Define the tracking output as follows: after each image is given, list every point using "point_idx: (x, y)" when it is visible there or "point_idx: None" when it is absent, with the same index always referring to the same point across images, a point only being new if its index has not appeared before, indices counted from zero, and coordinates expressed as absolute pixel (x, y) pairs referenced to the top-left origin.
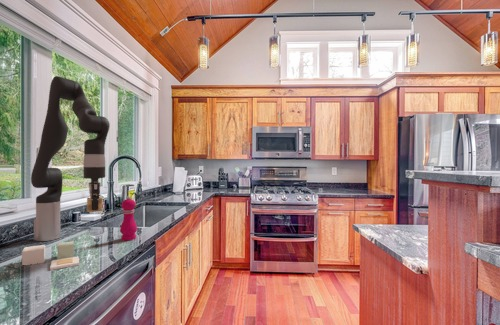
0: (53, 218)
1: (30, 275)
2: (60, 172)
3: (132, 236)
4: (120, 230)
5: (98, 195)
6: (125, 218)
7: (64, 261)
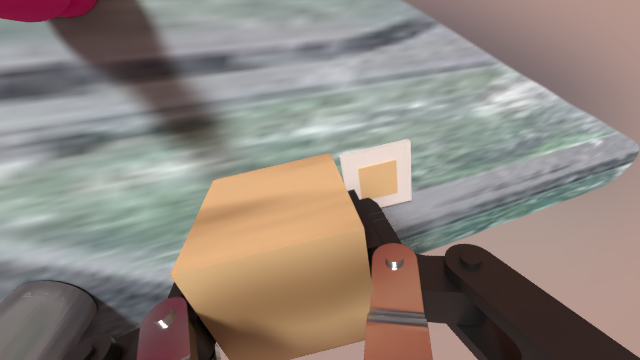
0: None
1: (421, 222)
2: None
3: None
4: (46, 17)
5: (525, 284)
6: None
7: (381, 181)
